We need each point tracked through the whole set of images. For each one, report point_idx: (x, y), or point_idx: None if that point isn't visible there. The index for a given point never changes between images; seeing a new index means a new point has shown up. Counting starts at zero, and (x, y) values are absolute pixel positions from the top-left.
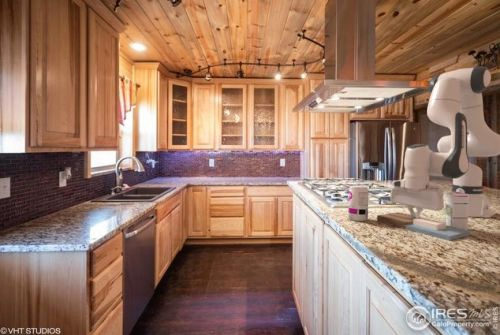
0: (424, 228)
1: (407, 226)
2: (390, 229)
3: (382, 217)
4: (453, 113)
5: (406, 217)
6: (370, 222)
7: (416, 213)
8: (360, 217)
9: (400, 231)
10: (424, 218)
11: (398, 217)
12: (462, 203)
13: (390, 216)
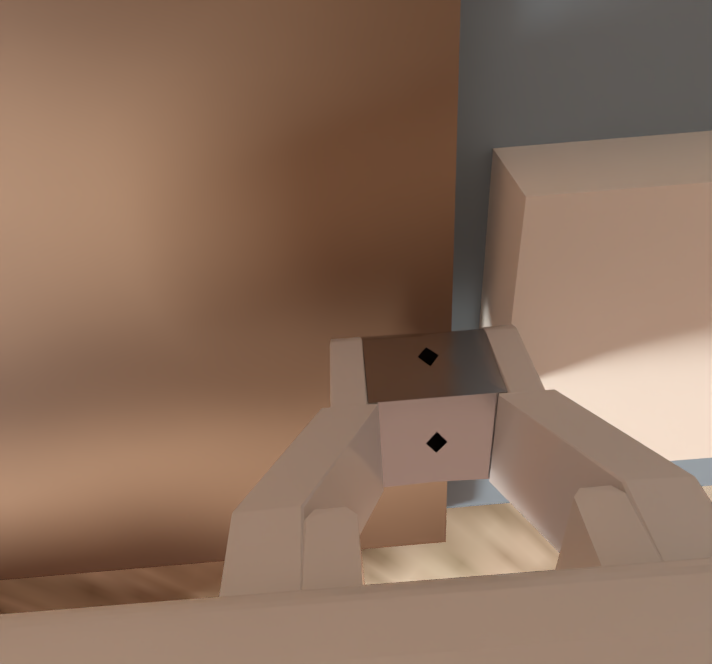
0: None
1: (468, 493)
2: (373, 583)
3: (47, 565)
4: None
5: (161, 288)
6: (50, 581)
7: (522, 489)
8: None
9: (473, 558)
10: (595, 221)
11: (128, 421)
12: None
13: (28, 481)
